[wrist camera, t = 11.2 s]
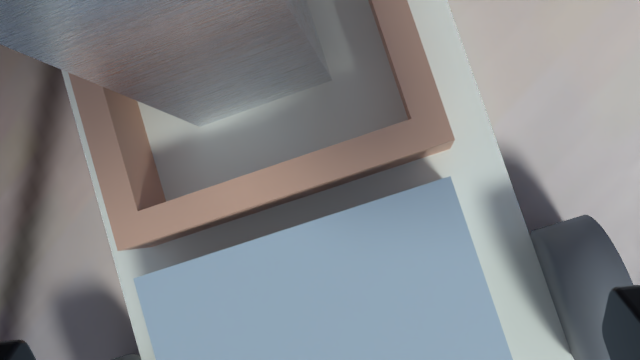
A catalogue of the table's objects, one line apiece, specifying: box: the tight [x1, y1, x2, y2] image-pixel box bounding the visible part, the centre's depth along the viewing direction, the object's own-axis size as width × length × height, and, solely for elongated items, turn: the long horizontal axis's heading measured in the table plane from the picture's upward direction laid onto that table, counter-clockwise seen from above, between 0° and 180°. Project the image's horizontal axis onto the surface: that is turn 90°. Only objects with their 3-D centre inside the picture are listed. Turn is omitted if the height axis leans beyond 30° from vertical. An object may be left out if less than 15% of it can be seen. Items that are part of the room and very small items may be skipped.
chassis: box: [61, 0, 633, 360], centre depth 21 cm, size 26×17×4 cm, turn 18°
